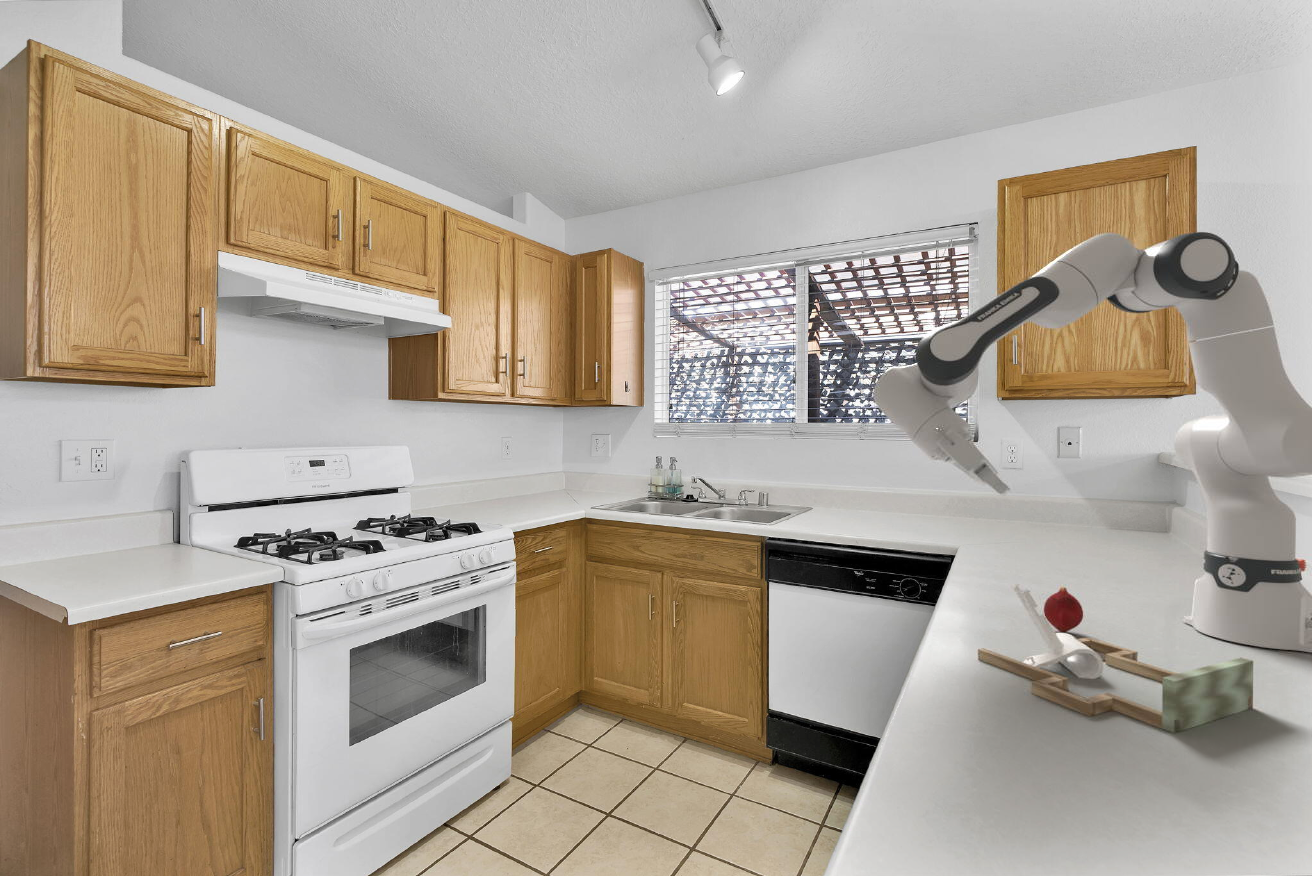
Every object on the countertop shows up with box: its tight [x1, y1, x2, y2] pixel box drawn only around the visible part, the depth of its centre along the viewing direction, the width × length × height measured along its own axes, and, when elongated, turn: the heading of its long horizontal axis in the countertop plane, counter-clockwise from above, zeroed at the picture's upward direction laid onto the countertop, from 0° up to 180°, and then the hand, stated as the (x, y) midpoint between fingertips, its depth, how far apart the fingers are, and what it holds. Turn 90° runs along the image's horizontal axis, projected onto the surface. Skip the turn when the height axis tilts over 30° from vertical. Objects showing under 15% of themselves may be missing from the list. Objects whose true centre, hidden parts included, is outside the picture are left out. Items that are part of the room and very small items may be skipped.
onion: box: [1043, 586, 1084, 633], centre depth 109 cm, size 6×6×8 cm
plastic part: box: [1011, 582, 1104, 680], centre depth 92 cm, size 8×10×12 cm
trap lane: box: [977, 636, 1254, 734], centre depth 87 cm, size 27×26×6 cm
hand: (1006, 492), depth 104 cm, fingers closed
